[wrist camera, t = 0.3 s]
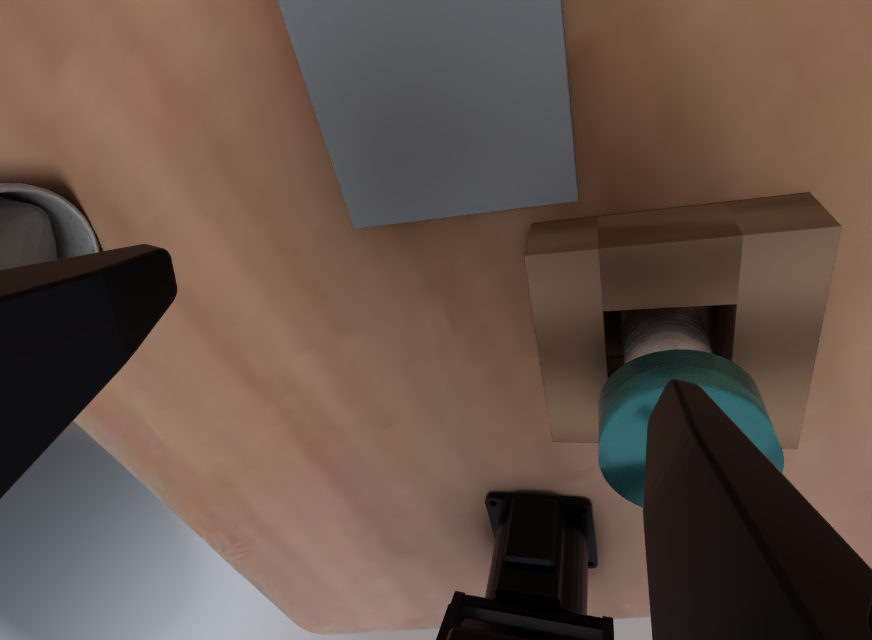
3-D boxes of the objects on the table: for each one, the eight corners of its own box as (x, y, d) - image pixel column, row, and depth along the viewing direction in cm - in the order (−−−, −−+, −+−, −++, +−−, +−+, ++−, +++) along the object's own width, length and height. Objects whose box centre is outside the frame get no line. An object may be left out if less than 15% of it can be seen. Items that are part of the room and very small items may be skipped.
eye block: (777, 400, 23) (797, 448, 21) (556, 399, 27) (552, 441, 24) (809, 192, 18) (841, 225, 16) (532, 223, 22) (524, 255, 19)
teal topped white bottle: (721, 359, 23) (773, 522, 16) (601, 362, 25) (603, 510, 18) (729, 257, 20) (795, 401, 14) (594, 268, 22) (592, 401, 15)
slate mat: (578, 195, 20) (577, 200, 20) (358, 223, 24) (353, 228, 23) (551, -119, 15) (549, -122, 15) (276, -27, 19) (268, -27, 18)
